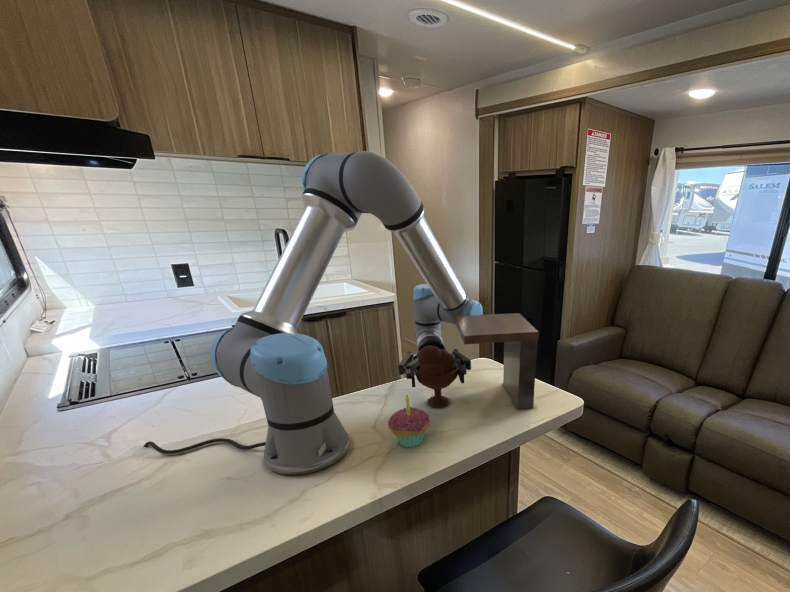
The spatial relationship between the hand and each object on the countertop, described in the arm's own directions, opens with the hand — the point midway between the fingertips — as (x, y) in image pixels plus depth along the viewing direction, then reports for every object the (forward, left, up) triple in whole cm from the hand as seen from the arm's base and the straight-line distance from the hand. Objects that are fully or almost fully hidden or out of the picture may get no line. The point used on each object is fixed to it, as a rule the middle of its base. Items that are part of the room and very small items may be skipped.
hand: (438, 380), depth 94 cm
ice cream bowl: (0, +4, -8) cm, 9 cm away
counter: (+14, +4, -8) cm, 17 cm away
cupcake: (-7, -12, -8) cm, 16 cm away
